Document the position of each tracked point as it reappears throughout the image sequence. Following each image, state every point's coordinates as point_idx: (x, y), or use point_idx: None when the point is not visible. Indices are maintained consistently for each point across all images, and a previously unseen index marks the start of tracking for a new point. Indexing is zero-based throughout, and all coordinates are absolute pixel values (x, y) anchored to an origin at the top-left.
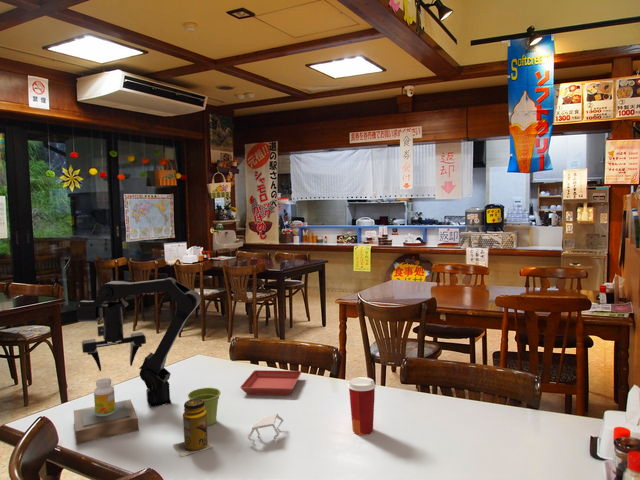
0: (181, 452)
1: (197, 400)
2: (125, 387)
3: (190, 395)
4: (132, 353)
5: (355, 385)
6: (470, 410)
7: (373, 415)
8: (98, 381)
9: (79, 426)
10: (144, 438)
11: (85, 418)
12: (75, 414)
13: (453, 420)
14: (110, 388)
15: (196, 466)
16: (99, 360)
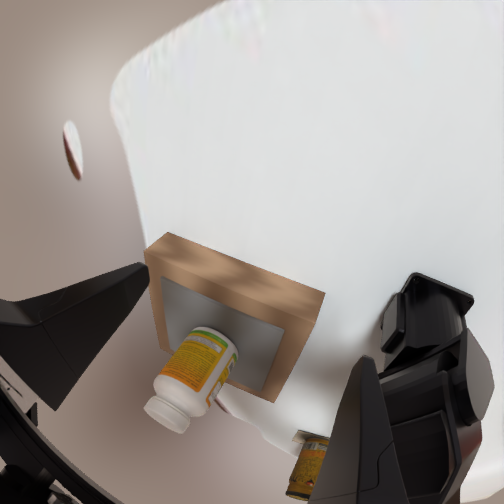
0: (297, 438)
1: (306, 499)
2: (424, 9)
3: None
4: (318, 490)
5: None
6: (492, 487)
7: None
8: (150, 413)
9: (164, 340)
10: (278, 398)
11: (172, 327)
12: (150, 280)
13: (472, 490)
14: (192, 416)
15: (293, 450)
16: (93, 358)
